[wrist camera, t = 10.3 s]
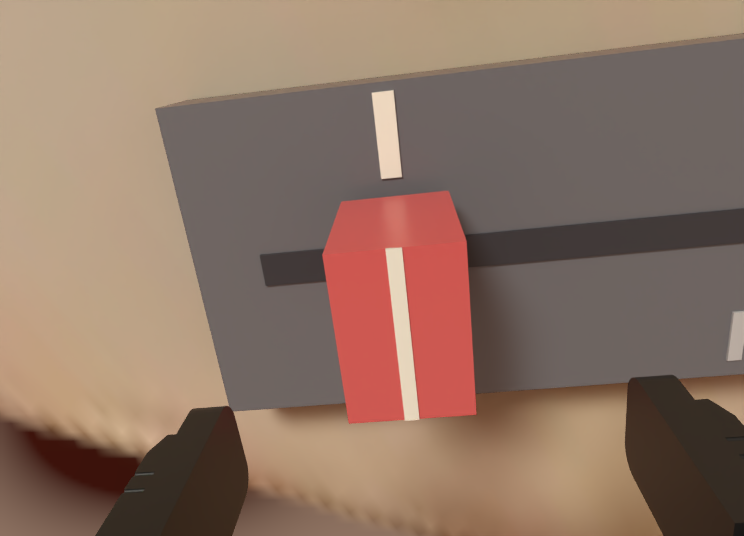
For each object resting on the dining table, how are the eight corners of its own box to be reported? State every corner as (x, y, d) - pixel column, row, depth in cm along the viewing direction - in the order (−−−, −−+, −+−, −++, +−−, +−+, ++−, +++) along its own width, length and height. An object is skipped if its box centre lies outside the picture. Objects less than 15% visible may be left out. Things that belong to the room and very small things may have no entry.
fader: (447, 186, 19) (466, 241, 13) (456, 320, 20) (476, 415, 15) (342, 197, 19) (321, 255, 14) (360, 328, 21) (348, 424, 15)
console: (829, 23, 19) (905, 19, 16) (777, 329, 24) (830, 369, 21) (187, 100, 21) (153, 108, 18) (248, 371, 26) (229, 413, 23)
